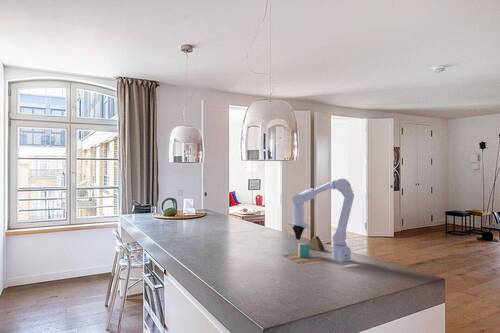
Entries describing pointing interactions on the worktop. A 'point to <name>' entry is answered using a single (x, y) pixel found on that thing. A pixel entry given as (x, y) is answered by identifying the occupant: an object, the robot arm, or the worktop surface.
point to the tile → (304, 250)
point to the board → (304, 259)
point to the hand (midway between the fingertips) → (298, 239)
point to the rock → (316, 244)
